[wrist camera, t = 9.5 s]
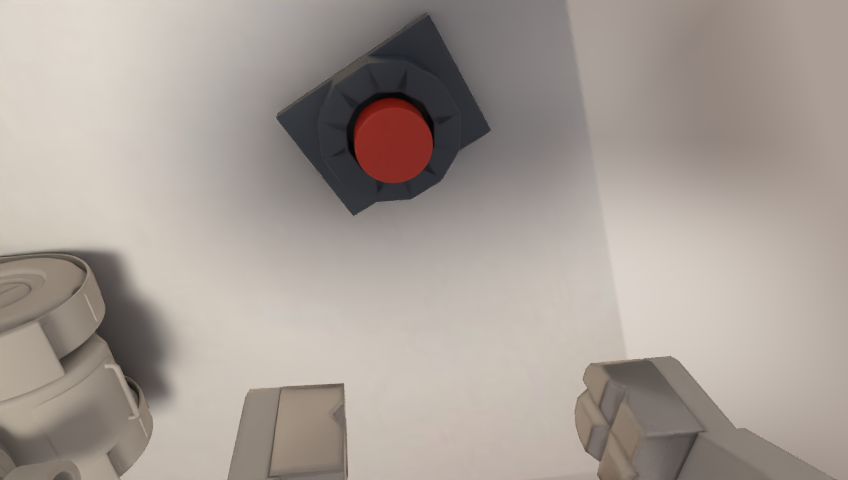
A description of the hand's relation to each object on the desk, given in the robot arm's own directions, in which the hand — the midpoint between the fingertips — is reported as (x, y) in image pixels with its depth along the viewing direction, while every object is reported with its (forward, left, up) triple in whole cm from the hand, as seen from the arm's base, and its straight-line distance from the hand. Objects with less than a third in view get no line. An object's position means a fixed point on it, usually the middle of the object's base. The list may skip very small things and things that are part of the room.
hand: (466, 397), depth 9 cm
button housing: (0, 0, -17) cm, 17 cm away
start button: (0, 0, -15) cm, 15 cm away
